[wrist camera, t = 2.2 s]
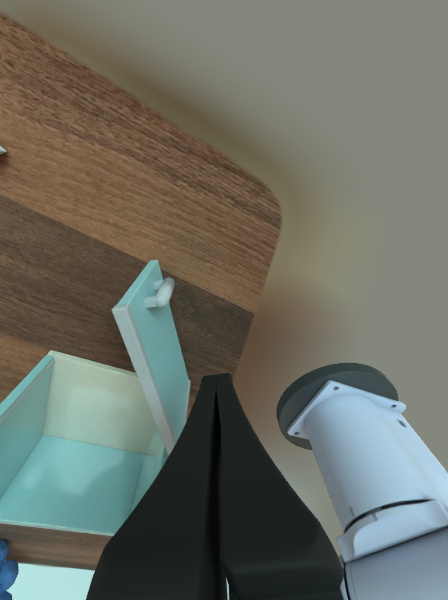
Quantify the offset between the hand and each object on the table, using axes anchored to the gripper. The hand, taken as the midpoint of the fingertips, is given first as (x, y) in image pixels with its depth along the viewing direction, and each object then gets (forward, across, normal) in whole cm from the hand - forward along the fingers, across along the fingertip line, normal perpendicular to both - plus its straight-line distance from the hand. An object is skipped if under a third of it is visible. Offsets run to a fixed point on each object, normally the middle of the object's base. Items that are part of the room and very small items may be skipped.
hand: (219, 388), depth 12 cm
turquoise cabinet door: (+8, +3, +1) cm, 9 cm away
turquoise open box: (+9, +13, +11) cm, 19 cm away
